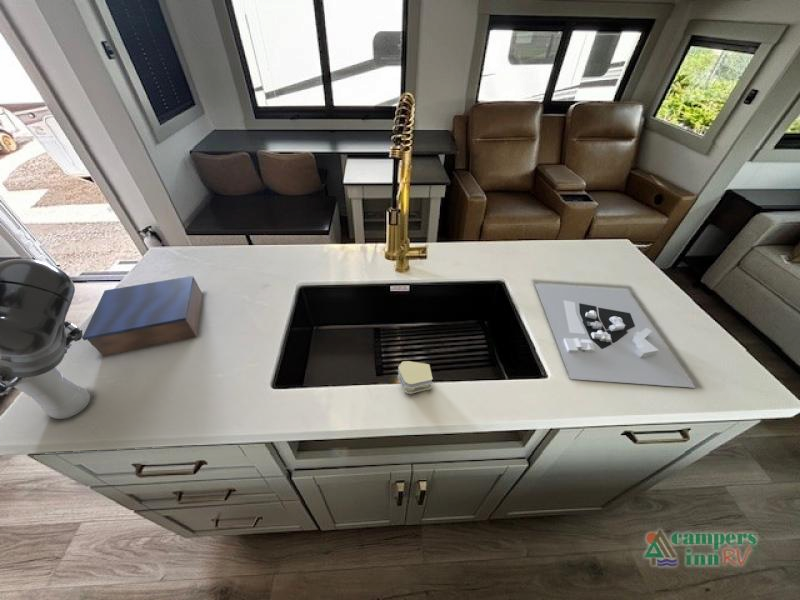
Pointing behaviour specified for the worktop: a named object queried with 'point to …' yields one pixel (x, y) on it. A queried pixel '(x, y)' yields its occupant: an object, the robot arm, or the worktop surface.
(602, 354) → the architectural model
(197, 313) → the lidded box
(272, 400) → the worktop surface
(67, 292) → the robot arm
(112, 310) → the box lid
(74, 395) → the plastic bottle
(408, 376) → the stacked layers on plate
